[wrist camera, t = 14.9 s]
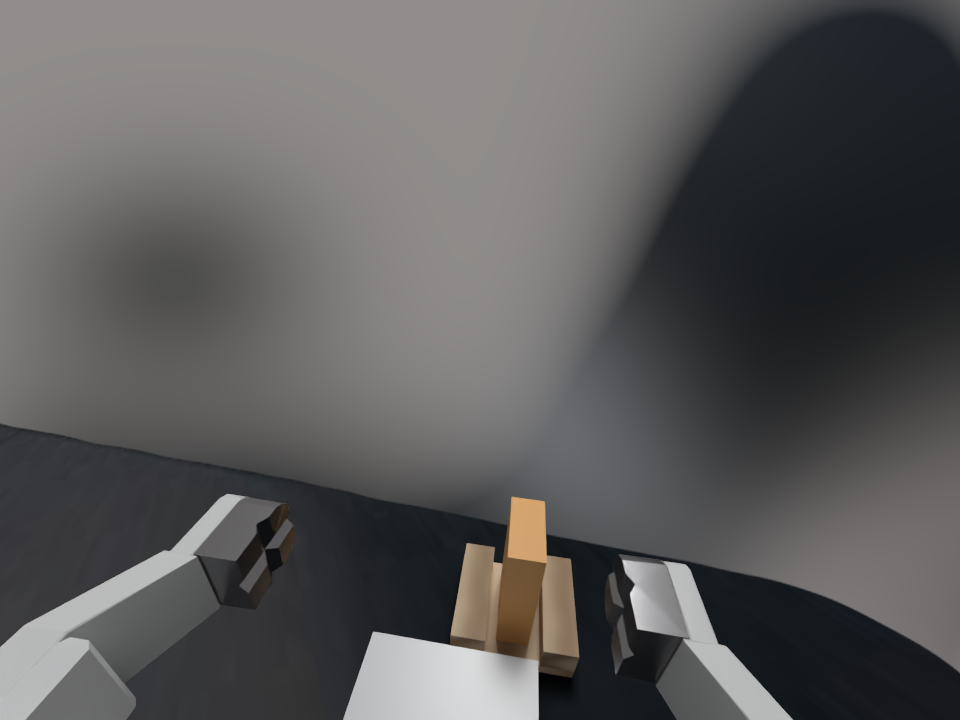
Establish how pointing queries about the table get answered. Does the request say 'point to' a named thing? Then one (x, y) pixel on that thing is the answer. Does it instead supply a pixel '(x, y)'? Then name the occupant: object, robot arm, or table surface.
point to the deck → (441, 683)
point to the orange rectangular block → (522, 570)
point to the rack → (552, 619)
